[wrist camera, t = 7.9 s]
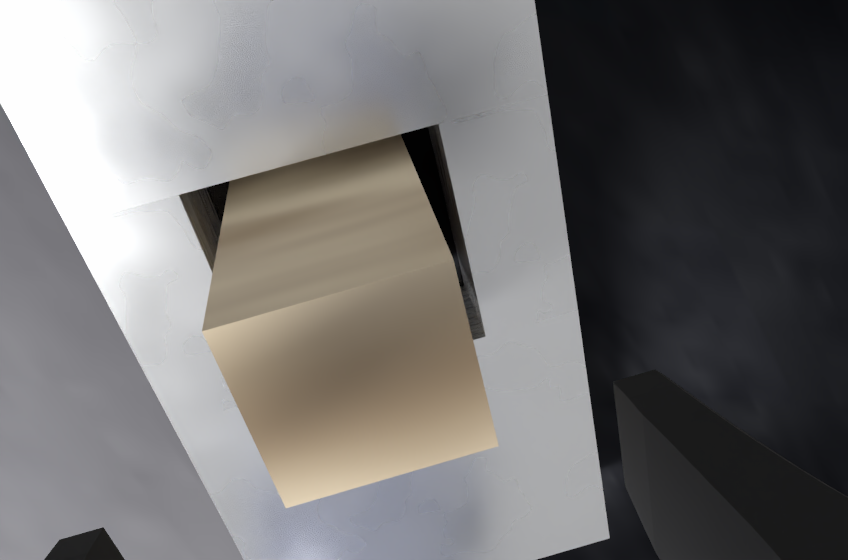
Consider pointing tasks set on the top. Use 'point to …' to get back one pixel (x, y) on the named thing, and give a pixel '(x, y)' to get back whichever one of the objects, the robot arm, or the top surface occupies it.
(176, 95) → the board with rectangular recess
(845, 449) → the top surface
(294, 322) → the peg
